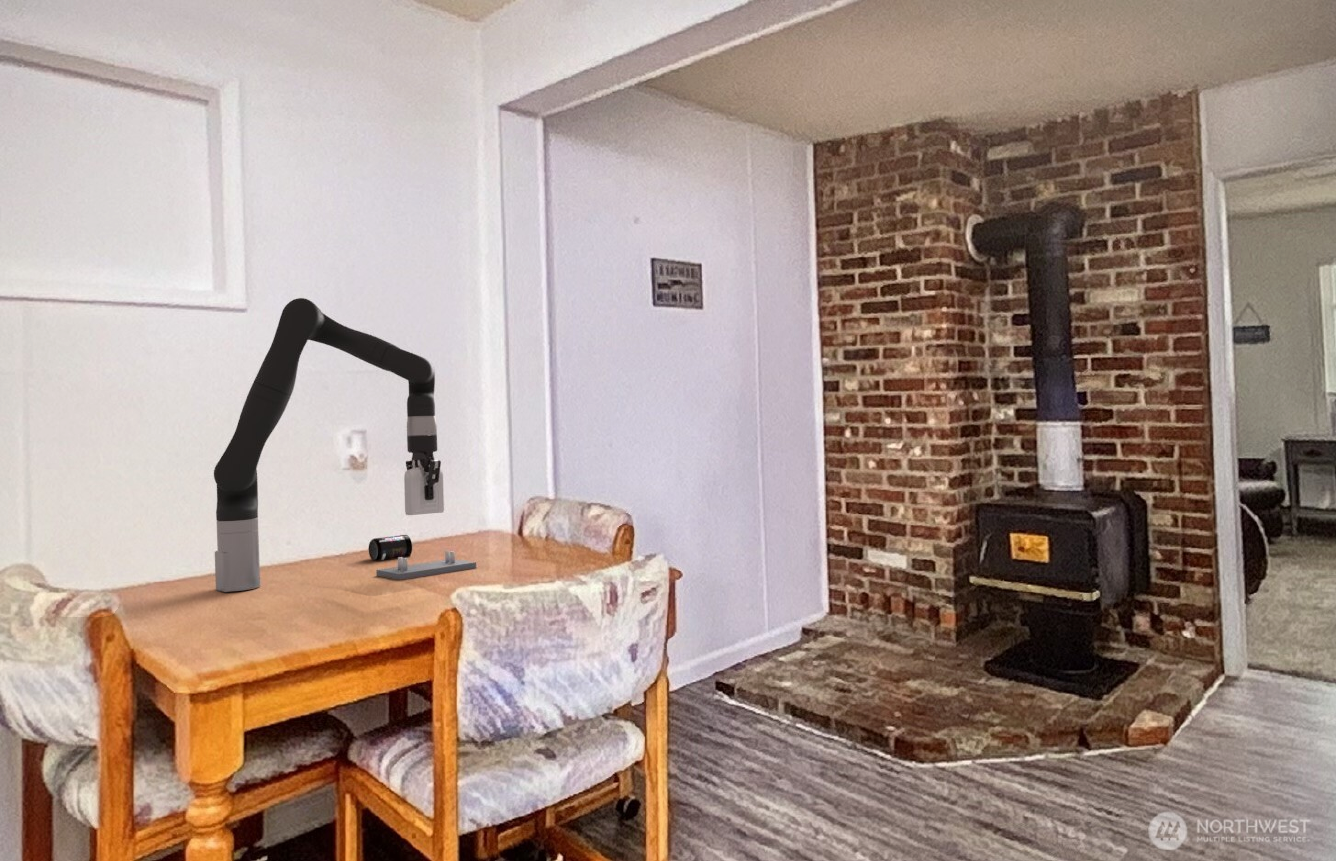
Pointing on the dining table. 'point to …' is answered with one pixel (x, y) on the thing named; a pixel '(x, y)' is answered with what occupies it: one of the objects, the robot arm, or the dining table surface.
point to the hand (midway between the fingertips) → (424, 499)
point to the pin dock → (425, 567)
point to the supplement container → (390, 547)
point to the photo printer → (422, 494)
